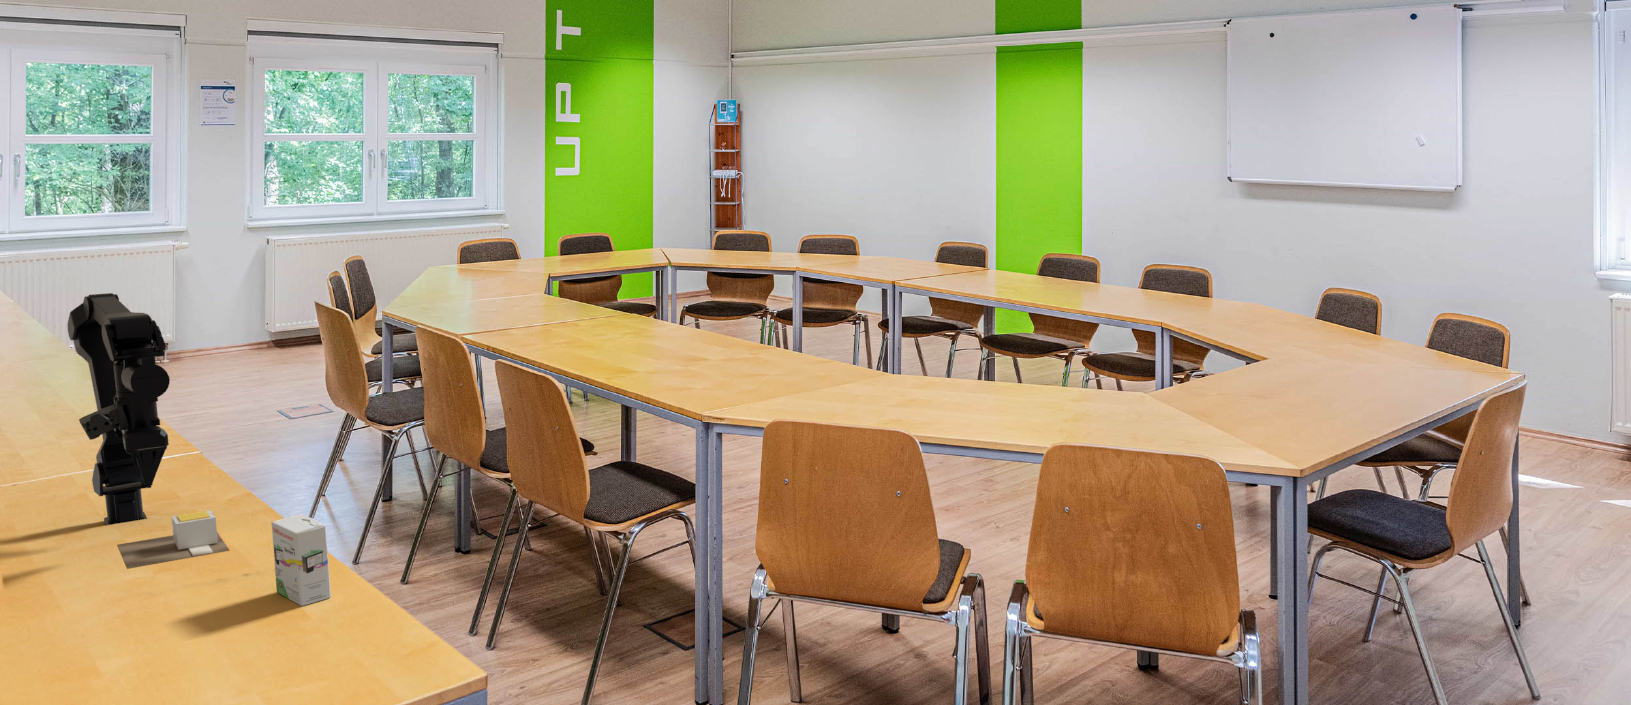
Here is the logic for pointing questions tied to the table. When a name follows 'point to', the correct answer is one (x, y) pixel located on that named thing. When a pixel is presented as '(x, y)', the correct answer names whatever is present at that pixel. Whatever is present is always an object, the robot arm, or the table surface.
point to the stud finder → (194, 529)
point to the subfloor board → (163, 551)
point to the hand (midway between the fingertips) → (144, 478)
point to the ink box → (301, 559)
